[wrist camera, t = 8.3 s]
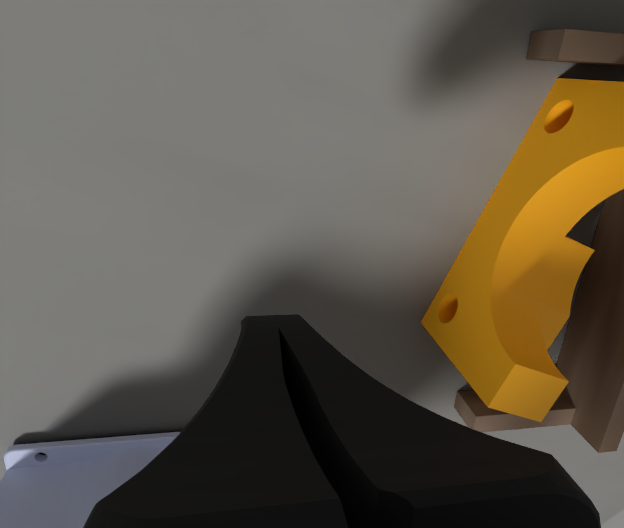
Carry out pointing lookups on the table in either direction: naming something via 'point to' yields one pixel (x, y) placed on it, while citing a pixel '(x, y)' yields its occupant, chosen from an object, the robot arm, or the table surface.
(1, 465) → the table surface
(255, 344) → the robot arm
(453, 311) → the pipe clamp
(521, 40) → the table surface
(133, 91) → the table surface
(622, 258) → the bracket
